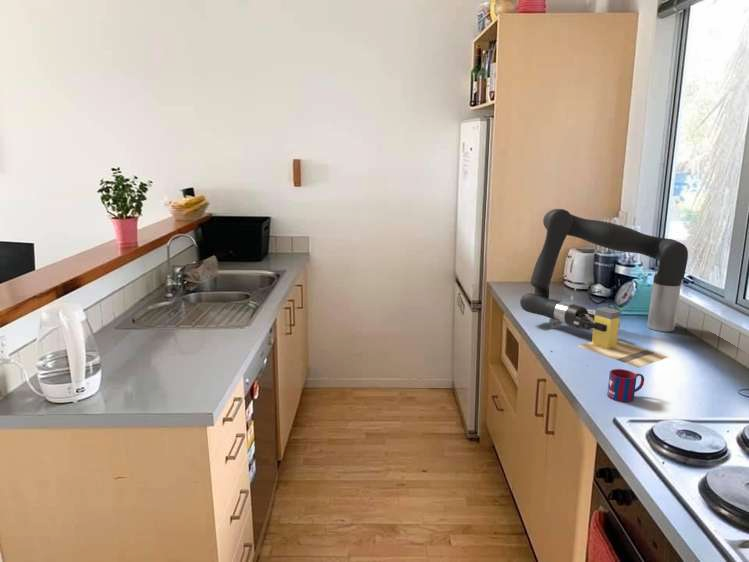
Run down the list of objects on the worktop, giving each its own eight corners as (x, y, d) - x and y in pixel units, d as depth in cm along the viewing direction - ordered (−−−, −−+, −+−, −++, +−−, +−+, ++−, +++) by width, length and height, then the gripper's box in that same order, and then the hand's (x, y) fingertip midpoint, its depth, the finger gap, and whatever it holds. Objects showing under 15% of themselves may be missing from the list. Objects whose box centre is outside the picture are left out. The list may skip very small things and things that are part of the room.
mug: (602, 392, 162) (605, 369, 161) (636, 391, 164) (639, 368, 162) (615, 403, 156) (618, 379, 154) (650, 401, 157) (653, 377, 156)
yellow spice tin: (600, 340, 201) (604, 306, 198) (616, 345, 196) (620, 311, 193) (591, 343, 198) (595, 309, 195) (607, 348, 193) (611, 313, 191)
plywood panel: (607, 340, 205) (607, 337, 205) (668, 360, 188) (668, 356, 187) (576, 349, 196) (576, 345, 195) (637, 370, 178) (638, 367, 178)
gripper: (558, 306, 202) (600, 319, 189) (584, 301, 210) (626, 313, 197) (556, 327, 204) (598, 341, 191) (582, 321, 212) (624, 334, 199)
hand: (612, 327), depth 194 cm, fingers open, 6 cm apart
